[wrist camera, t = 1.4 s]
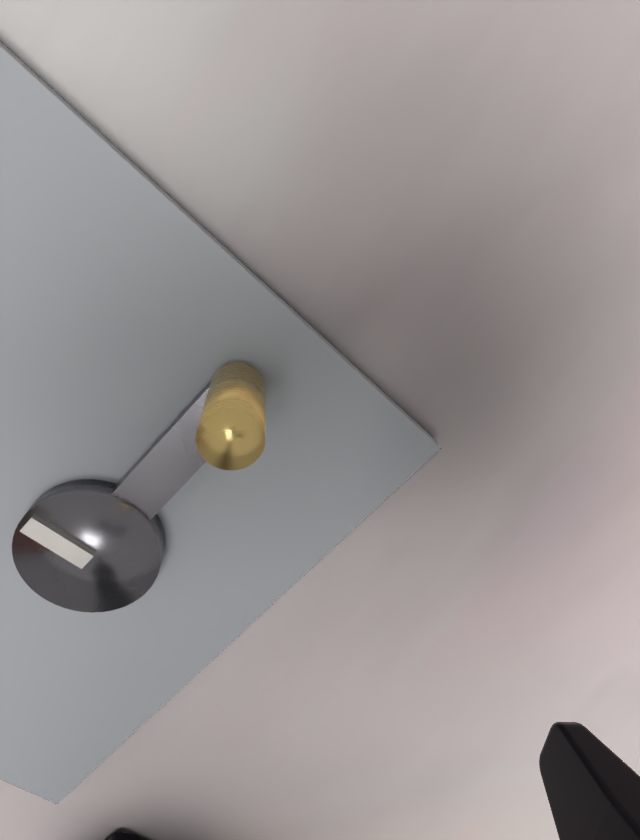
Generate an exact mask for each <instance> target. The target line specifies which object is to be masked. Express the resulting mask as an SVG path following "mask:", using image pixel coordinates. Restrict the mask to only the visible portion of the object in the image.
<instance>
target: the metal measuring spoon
mask: <svg viewBox="0 0 640 840" xmlns="http://www.w3.org/2000/svg"><path fill="white" fill-rule="evenodd" d="M265 403H266V386H265V381H264V378H263V376H262V375H261V373H260V372H259V371H258V370H257V369H256V368H255V367H254V366H252V365H250V364H248V363H244V362H231V363H228V362H227V363H226V364H225V365H223V366H221V367H220V368H219V369H218V370H217V371H216V372H215V373H214V375H213V377H212V380H211V381H210V382H209V383H208V384H207V385H206V386H205V387H204V388H203V389H202V391H201V392H200V393H199V394H198V395H197V396H196V397H195V398H194V399H193V401H192V402H191V403H190V404H189V405H188V406H187V407H186V408H185V409H184V410H183V412H182V413H181V414H180V415H179V416H178V417H177V418H176V419H175V420H174V421H173V423H172V424H171V425H170V426H169V427H168V428H167V429H166V430H165V431H164V432H163V434H162V435H161V436H160V437H159V438H158V439H157V440H156V441H155V442H154V443H153V445H152V446H151V447H150V448H149V449H148V450H147V451H146V452H145V453H144V455H143V456H142V457H141V458H140V459H139V460H138V461H137V462H136V463H135V464H134V466H133V467H132V468H131V469H130V470H129V471H128V472H127V473H126V474H125V475H124V477H123V478H122V479H121V480H120V481H119V482H118V483H117V484H116V483H113V482H108V481H104V480H96V479H80V480H73V481H69V482H64V483H62V484H59V485H56V486H54V487H52V488H51V489H49V490H47V491H46V492H44V493H43V494H42V495H40V496H39V497H38V498H37V499H36V500H35V502H34V503H33V504H32V506H31V507H30V508H29V510H28V511H27V512H26V514H25V515H24V517H23V518H22V519H21V521H20V522H19V524H18V525H17V527H16V529H15V532H14V535H13V540H12V556H13V560H14V564H15V566H16V569H17V571H18V573H19V574H20V576H21V578H22V579H23V580H24V582H25V583H26V584H27V585H28V586H29V587H30V588H31V589H32V590H33V591H34V592H35V593H37V594H38V595H39V596H41V597H42V598H44V599H45V600H47V601H49V602H51V603H53V604H55V605H58V606H60V607H63V608H66V609H70V610H74V611H80V612H91V613H92V612H106V611H112V610H116V609H119V608H122V607H125V606H127V605H129V604H131V603H133V602H135V601H136V600H138V599H139V598H141V597H142V596H143V595H144V594H145V593H146V592H147V591H148V590H149V589H150V588H151V587H152V585H153V583H154V582H155V580H156V578H157V576H158V573H159V570H160V566H161V563H162V559H163V556H164V551H165V544H166V540H165V532H164V528H163V525H162V522H161V520H160V518H159V516H158V515H157V513H158V512H159V511H160V510H161V509H162V507H163V506H164V505H165V504H166V503H167V502H168V501H169V500H170V499H171V498H172V497H173V496H174V495H175V494H176V493H177V492H178V491H179V490H180V489H181V487H182V486H183V485H184V484H185V483H186V482H187V481H188V480H189V479H190V478H191V477H192V476H193V475H194V474H195V473H196V472H197V471H198V470H199V468H200V467H201V466H202V465H203V464H204V463H205V462H206V461H207V462H208V463H209V464H211V465H212V466H214V467H216V468H219V469H223V470H229V471H231V470H240V469H244V468H246V467H248V466H250V465H252V464H253V463H254V462H256V461H257V460H258V458H259V457H260V456H261V454H262V452H263V450H264V447H265Z"/></svg>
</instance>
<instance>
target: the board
mask: <svg viewBox="0 0 640 840" xmlns="http://www.w3.org/2000/svg"><path fill="white" fill-rule="evenodd" d="M227 362H228V363H231V362H244V363H248V364H250V365H252V366H254V367H255V368H256V369H257V370H258V371H259V372H260V373H261V375H262V376H263V378H264V381H265V386H266V403H265V447H264V450H263V452H262V454H261V456H260V457H259V458H258V460H257V461H256V462H254V463H253V464H252V465H250V466H248V467H246V468H244V469H240V470H231V471H229V470H223V469H219V468H216V467H214V466H212V465H211V464H209V463H208V462H207V461H206V462H205V463H204V464H203V465H202V466H201V467H200V468H199V470H198V471H197V472H196V473H195V474H194V475H193V476H192V477H191V478H190V479H189V480H188V481H187V482H186V483H185V484H184V485H183V486H182V487H181V489H180V490H179V491H178V492H177V493H176V494H175V495H174V496H173V497H172V498H171V499H170V500H169V501H168V502H167V503H166V504H165V505H164V506H163V507H162V509H161V510H160V511H159V512H158V513H157V515H158V516H159V518H160V520H161V522H162V525H163V528H164V532H165V540H166V544H165V551H164V556H163V559H162V563H161V566H160V570H159V573H158V576H157V578H156V580H155V582H154V583H153V585H152V587H151V588H150V589H149V590H148V591H147V592H146V593H145V594H144V595H143V596H142V597H141V598H139V599H138V600H136V601H135V602H133V603H131V604H129V605H127V606H125V607H122V608H119V609H116V610H112V611H106V612H92V613H91V612H80V611H74V610H70V609H66V608H63V607H60V606H58V605H55V604H53V603H51V602H49V601H47V600H45V599H44V598H42V597H41V596H39V595H38V594H37V593H35V592H34V591H33V590H32V589H31V588H30V587H29V586H28V585H27V584H26V583H25V582H24V580H23V579H22V578H21V576H20V574H19V573H18V571H17V569H16V566H15V564H14V560H13V556H12V540H13V535H14V532H15V529H16V527H17V525H18V524H19V522H20V521H21V519H22V518H23V517H24V515H25V514H26V512H27V511H28V510H29V508H30V507H31V506H32V504H33V503H34V502H35V500H36V499H37V498H38V497H39V496H40V495H42V494H43V493H44V492H46V491H47V490H49V489H51V488H52V487H54V486H56V485H59V484H62V483H64V482H69V481H73V480H80V479H96V480H104V481H108V482H113V483H116V484H117V483H118V482H119V481H120V480H121V479H122V478H123V477H124V475H125V474H126V473H127V472H128V471H129V470H130V469H131V468H132V467H133V466H134V464H135V463H136V462H137V461H138V460H139V459H140V458H141V457H142V456H143V455H144V453H145V452H146V451H147V450H148V449H149V448H150V447H151V446H152V445H153V443H154V442H155V441H156V440H157V439H158V438H159V437H160V436H161V435H162V434H163V432H164V431H165V430H166V429H167V428H168V427H169V426H170V425H171V424H172V423H173V421H174V420H175V419H176V418H177V417H178V416H179V415H180V414H181V413H182V412H183V410H184V409H185V408H186V407H187V406H188V405H189V404H190V403H191V402H192V401H193V399H194V398H195V397H196V396H197V395H198V394H199V393H200V392H201V391H202V389H203V388H204V387H205V386H206V385H207V384H208V383H209V382H210V381H211V380H212V377H213V375H214V373H215V372H216V371H217V370H218V369H219V368H220V367H221V366H223V365H225V364H226V363H227ZM440 449H441V448H440V446H439V445H438V443H437V442H436V440H435V439H434V438H433V437H432V436H431V435H430V434H429V433H428V432H426V431H425V430H424V429H423V428H422V427H421V426H420V425H419V424H418V423H417V422H416V421H414V420H413V419H412V418H411V417H410V416H409V415H408V414H407V413H406V412H405V411H404V410H402V409H401V408H400V407H399V406H398V405H397V404H396V403H395V402H394V401H393V400H392V399H390V398H389V397H388V396H387V395H386V394H385V393H384V392H383V391H382V390H381V389H379V388H378V387H377V386H376V385H375V384H374V383H373V382H372V381H371V380H370V379H369V378H367V377H366V376H365V375H364V374H363V373H362V372H361V371H360V370H359V369H358V368H357V367H355V366H354V365H353V364H352V363H351V362H350V361H349V360H348V359H347V358H346V357H345V356H343V355H342V354H341V353H340V352H339V351H338V350H337V349H336V348H335V347H334V346H333V345H331V344H330V343H329V342H328V341H327V340H326V339H325V338H324V337H323V336H322V335H321V334H319V333H318V332H317V331H316V330H315V329H314V328H313V327H312V326H311V325H310V324H309V323H307V322H306V321H305V320H304V319H303V318H302V317H301V316H300V315H299V314H298V313H296V312H295V311H294V310H293V309H292V308H291V307H290V306H289V305H288V304H287V303H286V302H284V301H283V300H282V299H281V298H280V297H279V296H278V295H277V294H276V293H275V292H274V291H272V290H271V289H270V288H269V287H268V286H267V285H266V284H265V283H264V282H263V281H262V280H260V279H259V278H258V277H257V276H256V275H255V274H254V273H253V272H252V271H251V270H250V269H248V268H247V267H246V266H245V265H244V264H243V263H242V262H241V261H240V260H239V259H238V258H236V257H235V256H234V255H233V254H232V253H231V252H230V251H229V250H228V249H227V248H226V247H224V246H223V245H222V244H221V243H220V242H219V241H218V240H217V239H216V238H215V237H213V236H212V235H211V234H210V233H209V232H208V231H207V230H206V229H205V228H204V227H203V226H201V225H200V224H199V223H198V222H197V221H196V220H195V219H194V218H193V217H192V216H191V215H189V214H188V213H187V212H186V211H185V210H184V209H183V208H182V207H181V206H180V205H179V204H177V203H176V202H175V201H174V200H173V199H172V198H171V197H170V196H169V195H168V194H167V193H165V192H164V191H163V190H162V189H161V188H160V187H159V186H158V185H157V184H156V183H155V182H153V181H152V180H151V179H150V178H149V177H148V176H147V175H146V174H145V173H144V172H143V171H141V170H140V169H139V168H138V167H137V166H136V165H135V164H134V163H133V162H132V161H130V160H129V159H128V158H127V157H126V156H125V155H124V154H123V153H122V152H121V151H120V150H118V149H117V148H116V147H115V146H114V145H113V144H112V143H111V142H110V141H109V140H108V139H106V138H105V137H104V136H103V135H102V134H101V133H100V132H99V131H98V130H97V129H96V128H94V127H93V126H92V125H91V124H90V123H89V122H88V121H87V120H86V119H85V118H84V117H82V116H81V115H80V114H79V113H78V112H77V111H76V110H75V109H74V108H73V107H72V106H70V105H69V104H68V103H67V102H66V101H65V100H64V99H63V98H62V97H61V96H60V95H58V94H57V93H56V92H55V91H54V90H53V89H52V88H51V87H50V86H49V85H47V84H46V83H45V82H44V81H43V80H42V79H41V78H40V77H39V76H38V75H37V74H35V73H34V72H33V71H32V70H31V69H30V68H29V67H28V66H27V65H26V64H25V63H23V62H22V61H21V60H20V59H19V58H18V57H17V56H16V55H15V54H14V53H13V52H11V51H10V50H9V49H8V48H7V47H6V46H5V45H4V44H3V43H2V42H1V41H0V779H1V780H3V781H5V782H8V783H10V784H12V785H14V786H17V787H19V788H21V789H23V790H26V791H28V792H30V793H32V794H35V795H37V796H39V797H42V798H44V799H46V800H48V801H51V802H53V803H55V804H58V803H59V802H60V801H61V800H62V799H63V798H64V797H65V796H66V795H67V794H69V793H70V792H71V791H72V790H73V789H74V788H75V787H76V786H77V785H78V784H79V783H80V782H81V781H83V780H84V779H85V778H86V777H87V776H88V775H89V774H90V773H91V772H92V771H93V770H94V769H96V768H97V767H98V766H99V765H100V764H101V763H102V762H103V761H104V760H105V759H106V758H107V757H108V756H110V755H111V754H112V753H113V752H114V751H115V750H116V749H117V748H118V747H119V746H120V745H121V744H123V743H124V742H125V741H126V740H127V739H128V738H129V737H130V736H131V735H132V734H133V733H134V732H135V731H137V730H138V729H139V728H140V727H141V726H142V725H143V724H144V723H145V722H146V721H147V720H148V719H149V718H151V717H152V716H153V715H154V714H155V713H156V712H157V711H158V710H159V709H160V708H161V707H162V706H164V705H165V704H166V703H167V702H168V701H169V700H170V699H171V698H172V697H173V696H174V695H175V694H176V693H178V692H179V691H180V690H181V689H182V688H183V687H184V686H185V685H186V684H187V683H188V682H189V681H191V680H192V679H193V678H194V677H195V676H196V675H197V674H198V673H199V672H200V671H201V670H202V669H203V668H205V667H206V666H207V665H208V664H209V663H210V662H211V661H212V660H213V659H214V658H215V657H216V656H217V655H219V654H220V653H221V652H222V651H223V650H224V649H225V648H226V647H227V646H228V645H229V644H230V643H232V642H233V641H234V640H235V639H236V638H237V637H238V636H239V635H240V634H241V633H242V632H243V631H244V630H246V629H247V628H248V627H249V626H250V625H251V624H252V623H253V622H254V621H255V620H256V619H257V618H259V617H260V616H261V615H262V614H263V613H264V612H265V611H266V610H267V609H268V608H269V607H270V606H271V605H273V604H274V603H275V602H276V601H277V600H278V599H279V598H280V597H281V596H282V595H283V594H284V593H286V592H287V591H288V590H289V589H290V588H291V587H292V586H293V585H294V584H295V583H296V582H297V581H298V580H300V579H301V578H302V577H303V576H304V575H305V574H306V573H307V572H308V571H309V570H310V569H311V568H312V567H314V566H315V565H316V564H317V563H318V562H319V561H320V560H321V559H322V558H323V557H324V556H325V555H327V554H328V553H329V552H330V551H331V550H332V549H333V548H334V547H335V546H336V545H337V544H338V543H339V542H341V541H342V540H343V539H344V538H345V537H346V536H347V535H348V534H349V533H350V532H351V531H352V530H354V529H355V528H356V527H357V526H358V525H359V524H360V523H361V522H362V521H363V520H364V519H365V518H366V517H368V516H369V515H370V514H371V513H372V512H373V511H374V510H375V509H376V508H377V507H378V506H379V505H380V504H382V503H383V502H384V501H385V500H386V499H387V498H388V497H389V496H390V495H391V494H392V493H393V492H395V491H396V490H397V489H398V488H399V487H400V486H401V485H402V484H403V483H404V482H405V481H406V480H407V479H409V478H410V477H411V476H412V475H413V474H414V473H415V472H416V471H417V470H418V469H419V468H420V467H422V466H423V465H424V464H425V463H426V462H427V461H428V460H429V459H430V458H431V457H432V456H433V455H434V454H436V453H437V452H438V451H439V450H440Z"/></svg>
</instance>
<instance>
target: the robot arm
mask: <svg viewBox="0 0 640 840" xmlns="http://www.w3.org/2000/svg"><path fill="white" fill-rule="evenodd" d="M539 765H540V772H541V776H542V779H543V783H544V786H545V790H546V793H547V797H548V800H549V804H550V807H551V811H552V814H553V818H554V821H555V825H556V828H557V832H558V835H559V839H560V840H640V776H639V775H638V774H636V773H635V772H634V771H633V770H632V769H631V768H630V767H629V766H628V765H627V764H625V763H624V762H623V761H622V760H621V759H620V758H619V757H618V756H617V755H615V754H614V753H613V752H612V751H611V750H610V749H609V748H608V747H607V746H606V745H604V744H603V743H602V742H601V741H600V740H599V739H598V738H597V737H596V736H594V735H593V734H592V733H591V732H590V731H589V730H588V729H587V728H586V727H584V726H583V725H581V724H579V723H576V722H556V723H555V724H553V725H552V727H551V729H550V731H549V734H548V736H547V739H546V741H545V744H544V746H543V749H542V751H541V754H540V760H539ZM107 840H141V839H139V838H137V837H135V836H132V835H130V834H128V833H125V832H118V833H115V834H113V835H112V836H111V837H110V838H108V839H107Z"/></svg>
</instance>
